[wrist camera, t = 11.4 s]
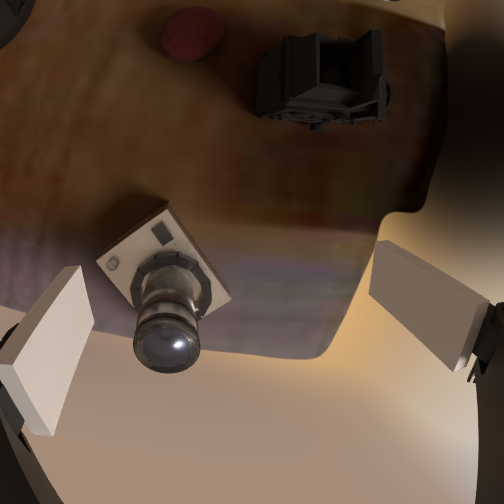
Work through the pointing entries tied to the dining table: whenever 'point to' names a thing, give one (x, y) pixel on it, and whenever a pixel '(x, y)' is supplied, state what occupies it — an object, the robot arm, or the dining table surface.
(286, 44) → the camera
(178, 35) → the potato
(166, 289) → the lens
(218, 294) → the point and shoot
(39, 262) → the dining table surface
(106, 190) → the dining table surface
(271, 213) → the dining table surface
